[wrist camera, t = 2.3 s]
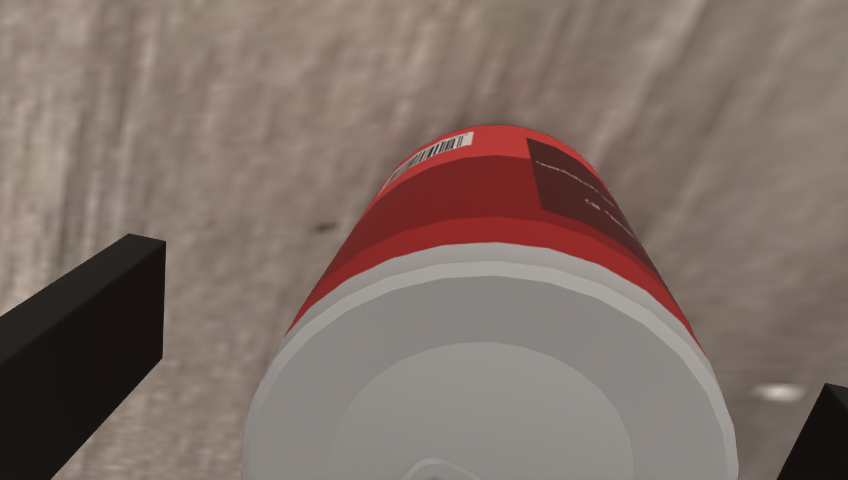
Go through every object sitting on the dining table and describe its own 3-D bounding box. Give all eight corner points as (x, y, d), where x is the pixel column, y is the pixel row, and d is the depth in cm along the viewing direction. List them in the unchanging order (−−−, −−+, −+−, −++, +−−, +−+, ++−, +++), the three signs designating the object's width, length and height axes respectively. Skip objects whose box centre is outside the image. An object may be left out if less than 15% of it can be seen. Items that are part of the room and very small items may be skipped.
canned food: (340, 307, 21) (193, 586, 11) (414, 79, 18) (309, 173, 8) (552, 384, 22) (599, 729, 11) (659, 169, 19) (855, 372, 8)
